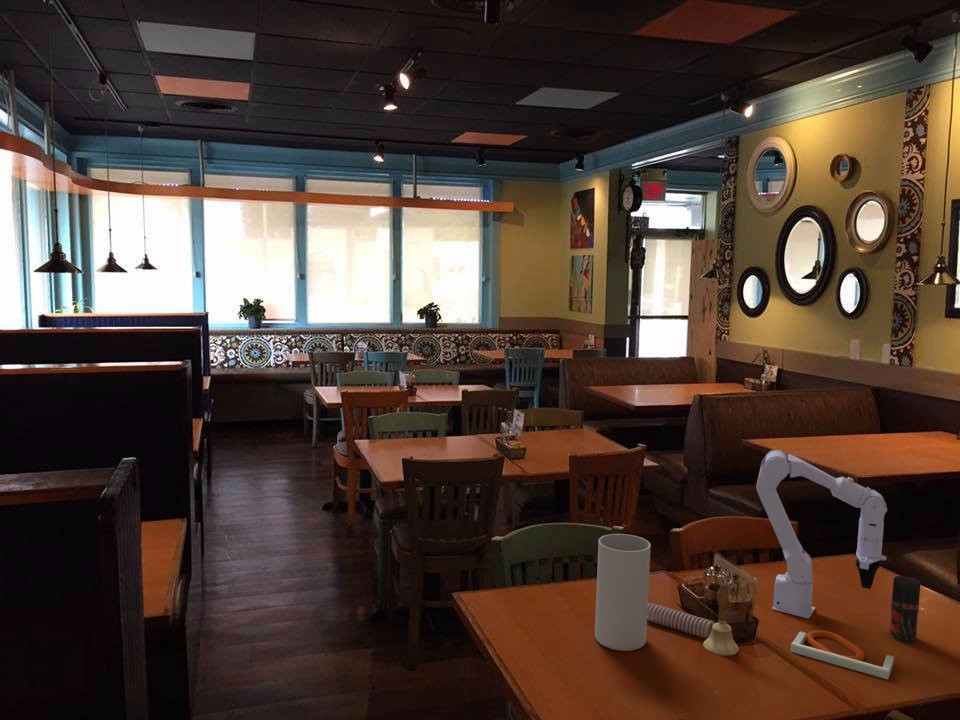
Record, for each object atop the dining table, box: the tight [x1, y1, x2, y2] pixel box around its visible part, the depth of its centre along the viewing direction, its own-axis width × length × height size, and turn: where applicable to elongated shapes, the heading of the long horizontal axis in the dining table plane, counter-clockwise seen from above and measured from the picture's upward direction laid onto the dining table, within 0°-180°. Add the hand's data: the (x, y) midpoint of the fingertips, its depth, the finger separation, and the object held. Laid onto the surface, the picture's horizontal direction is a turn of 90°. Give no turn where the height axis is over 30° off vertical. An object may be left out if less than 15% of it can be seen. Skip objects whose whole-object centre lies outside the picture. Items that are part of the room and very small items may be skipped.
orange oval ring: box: [805, 629, 865, 662], centre depth 185 cm, size 10×2×15 cm
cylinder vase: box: [594, 533, 652, 652], centre depth 186 cm, size 12×12×25 cm
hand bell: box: [702, 583, 740, 657], centre depth 183 cm, size 8×8×16 cm
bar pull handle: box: [790, 631, 895, 680], centre depth 180 cm, size 21×9×2 cm, turn 54°
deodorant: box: [888, 575, 922, 644], centre depth 191 cm, size 6×6×15 cm
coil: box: [647, 602, 715, 640], centre depth 194 cm, size 5×5×18 cm
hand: (866, 587), depth 199 cm, fingers closed
